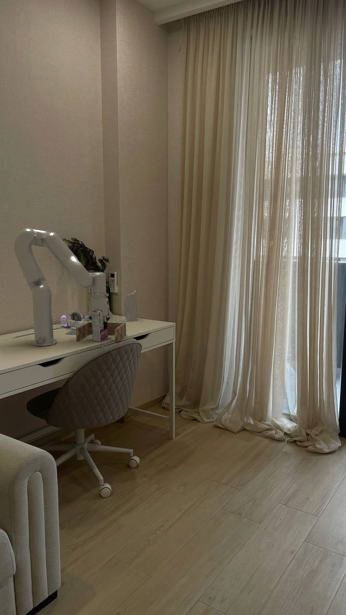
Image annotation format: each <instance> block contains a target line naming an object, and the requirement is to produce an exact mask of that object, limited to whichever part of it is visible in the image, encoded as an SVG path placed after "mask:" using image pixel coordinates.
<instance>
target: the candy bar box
mask: <svg viewBox="0 0 346 615" xmlns="http://www.w3.org/2000/svg"><path fill="white" fill-rule="evenodd" d="M92 330H93V334H92V341H93V342H103V341H104V340H106V339H107V338H108V337H109V335H108V327H107V329H104V318H103V315H102V311H101V310H94V311H92Z"/></svg>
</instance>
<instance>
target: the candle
mask: <svg viewBox="0 0 346 615" xmlns="http://www.w3.org/2000/svg"><path fill="white" fill-rule="evenodd" d="M124 308H125V318H120V319H119V318H118V319H116V320H115V321H116V322H137V320H138V316H137V315H138V314H137V291H136V290H133V292H131V293H129V294H126V296H125V300H124Z"/></svg>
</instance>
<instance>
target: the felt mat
mask: <svg viewBox="0 0 346 615" xmlns="http://www.w3.org/2000/svg"><path fill="white" fill-rule="evenodd" d="M65 335H75V336H76V328H74V329H71V330H69V331H68V332H66V333H65Z"/></svg>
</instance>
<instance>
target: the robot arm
mask: <svg viewBox="0 0 346 615" xmlns="http://www.w3.org/2000/svg"><path fill="white" fill-rule="evenodd" d="M13 242H14V243H13V250H14V251H13V252H14V254H15V257H16V259H17V263H18V264H19V267H20V269H21V271H22V274H23V277H24V279H25V281H26V283H27V285H28V288H29V289H30V291H31V298H32V315H33V329H34V330H33V331H34V332H33V333H34V335H33V336H34V339H32V341H31V345H32V346H34V347H35V346H36V347H47V346H48V347H49V346H53V345H56V344H57V342H58V341H57V339H55V338H54V336H55V334H54V319H53V293H52V292H53V291H52V289H51V287H50V285H49V283H48V280H47V278H46V277H45V274H44V272H43V270H42V267H41V266H40V264H39V262H38V261H37V258H36V256H35V254H34V251H33V246H34V247H40V248H47V250H48V251H49V252H50V254H52V255H53V257H54V258H55V259H56V261H57V262H58V263H59V264H60V266H62V268H64V269H65V270H67V271H68V274H70V275H71V277H73V279H74V280H75V281H76V283H77V285H78V286H80V287H81V288H84V289H87V288H90V287H91V298H90V299H89V300H90V301H89V310H88V312H87V313H86V314H85V316H87V317H88V318H89V319H90V320H91V321H92V311H94V310H101V311H102V315H103V318H104V329H107V327H108V323H107V322H108V321H109V320H110V319H111V318H113V317H114V314H113V313H112V312H111V311H110V302H109V298H108V297H109V295H110V294H109V293H107V284H106V283H107V282H106V273H104V272H103V271H100V272H99V271H96V272H88V270H87V269H86V268H85V267H84V266H83V264H82V263H81V262H80V261H79V259H78V258H77V256H76V255H75V254H74V253H73V251H72V250H71V249H70V248H69V246H68V245H67V244H66V243H65V242H64V241H63V239H62V238H61V237H60V236H59V235H58V233H57V232H55V231H46V230H40V229H33V228H31V227H25V228H22V230H20V231H19V233H18V234H17V235H16V237H15V239H14V241H13Z"/></svg>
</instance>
